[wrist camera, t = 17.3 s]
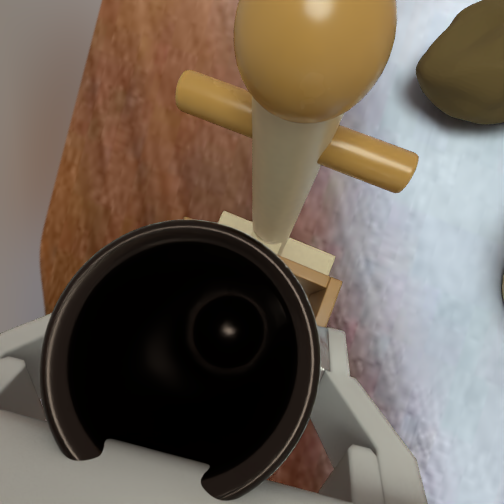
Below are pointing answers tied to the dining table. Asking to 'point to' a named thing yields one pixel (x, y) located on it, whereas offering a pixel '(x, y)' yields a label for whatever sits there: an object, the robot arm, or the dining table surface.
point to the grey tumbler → (184, 353)
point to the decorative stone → (468, 65)
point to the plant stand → (302, 116)
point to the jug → (503, 287)
